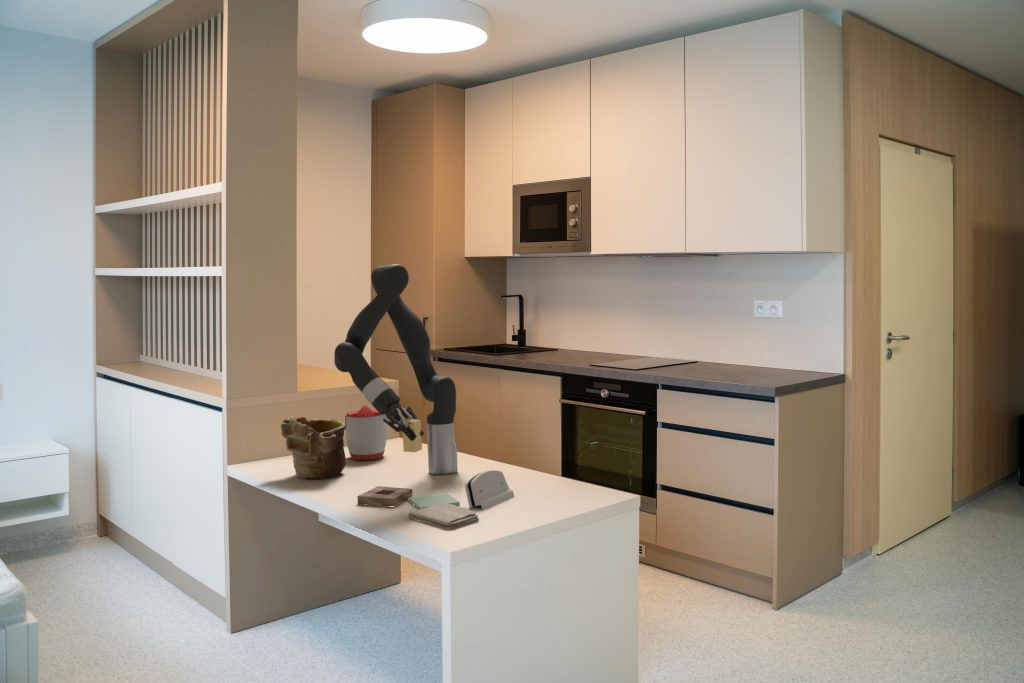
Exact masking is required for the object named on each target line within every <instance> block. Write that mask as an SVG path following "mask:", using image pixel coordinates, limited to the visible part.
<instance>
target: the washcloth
mask: <svg viewBox="0 0 1024 683" xmlns="http://www.w3.org/2000/svg"><path fill="white" fill-rule="evenodd" d="M476 513H477V511H472V510H470V509H468V508H467V507H466V506H463V507H462V506H459V505H457V506H455V505H452V504H446V503H437V504H434V505H431V506H429V507H427V508H422V509H418V508H417V509H416V510H413V511H410V512H409V513H408V519H410V518H412V519H411V520H413V519H416V520H415V521H417V520H419V521H418V522H421V521H422V522H421V523H423V522H426V523H425V524H427V523H429V524H428V525H431V524H432V526H434V525H436V527H438V526H439V528H441V527H442V529H445V530H448V531H450V530H451V529H457V528H460V527H463V526H465V525H469V524H472V523H475V522H478V521H479V520H480V517H479V515H478V514H476Z"/></svg>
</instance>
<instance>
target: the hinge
mask: <svg viewBox="0 0 1024 683" xmlns="http://www.w3.org/2000/svg"><path fill="white" fill-rule="evenodd" d="M464 488H465V493H466V498H467V503H468V507H469V508H470V509H471V508H474V507H478V506H480V507H481V510H486V509H488V508H492V507H493V506H496V505H497V504H498V505H499V504H500V503H503V502H505V501H507V500H510V499H512V498H515V494H514V490H512V489H511V488H509V485H508V483H507V480H506V478H505V475H504V473H503V472H502V471H501V470H487V471H482V472H479V473H477V474H476V475H474V476H472V477H471V478H470V479H468V480H467V481H466V483H465V484H464Z"/></svg>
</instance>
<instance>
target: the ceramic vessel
mask: <svg viewBox="0 0 1024 683" xmlns="http://www.w3.org/2000/svg"><path fill="white" fill-rule="evenodd" d="M345 428H346V424H345V423H344V422H343V421H339V420H338V419H334V418H329V419H328V418H325V419H322V418H321V419H316V420H315V419H310V420H308V419H307V418H306V417H304V416H302V417H295V415H294V416H293V415H292V416H291V417H290V418H288V419H283V420H282V421H281V423H280V430H281V436H282V437H283V438H284V439H286V440H285V441H286V442H285V445H286V450H287V451H289V452H292V462H293V468H294V470H295V471H294V472H295V474H296V475H297V477H298V478H300V479H307V478H310V479H309V480H312V479H313V480H314V479H316V480H321V479H322V478H326V479H329V478H333V477H335V476H337V475H340V474H341V473H342V472H343V471H344V469H345V467H346V464H347V460H346V453H345V448H344V447H345V446H344V445H345V443H344V440H345V439H344V436H345V432H346V429H345ZM322 480H323V479H322Z"/></svg>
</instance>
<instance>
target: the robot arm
mask: <svg viewBox="0 0 1024 683" xmlns="http://www.w3.org/2000/svg"><path fill="white" fill-rule="evenodd" d="M370 280H371V283H372V284H371V285H372V287H373V289H374V291H375V293H376V295H375V297H374V298H372V300H371V301H370V302H368V304H367V305H366V306H364V308H363V309H362V310H361V311H360V312H359V313H358V314H357V315H356V317H355V318H354V320H353V322H352V324H351V325H350V327H349V329H348V331H347V333H346V337H345V340H344V342H341V343H338V345H337V346H336V347H335V349H334V355H333V356H334V362H333V363H334V366H335V367H336V370H338V371H340V372H342V373H348V374H349V375H350V377H351V381H352V382H353V384H354V385H355V387H356V388H358V390H359V391H360V392H361V393H362V394H363V396H364V397H365V399H366V400H367V401H368V403H370V404H371V406H372V407H373V408H374V410H377V411H378V412H379V413H380V414H381V415H386V416H385V418H384V419H383V421H384V422H385V423H386V425H388V426H389V427H390V428H391V429H393V430H394V431H395V432H396V433H399V432H400V433H402V434H403V433H404V434H405V435H406V436H407V437H408V438H409V439H410V440H411V441H413V440H414V439H415V438H416V437H417V435H416V434H415V433H414V432H413V431H412V430H411V429H410V428H409V427H408V425H407V424H406V423H405V420H408V419H416V420H419V419H418V417H417V416H416V414H415V412H414V411H413V409H412V407H411V406H407V408H406V407H404V406H403V405H402V404H400V401H401V398H400V397H399V395H398V394H397V393H396V392H395V390H393V389H392V388H391V386H390V385H389V384H388V383H387V382H386V381H385V380H383V379H382V378H381V377H380V376H379V375H378V374H377V372H376V371H375V370H374V369H373V368H372V367H371V366H370V364H369V363H368V361H367V360H366V358H365V357H364V355H363V353H364V351H365V348H366V346H367V344H368V342H369V341H370V339H371V337H372V336H373V335H374V332H375V330H376V329H377V327H378V326H379V323H380V322H381V321H382V319H383V317H384V316H385V315H386V313H387V315H388V316H389V318H390V320H391V323H392V325H393V327H394V329H395V330H396V331H395V332H396V334H397V337H398V338H399V341H400V343H401V345H402V347H403V349H404V352H405V354H406V355H407V357H408V360H409V362H410V365H411V367H412V369H413V371H414V374H415V375H414V376H415V378H416V381H417V385H418V387H419V390H420V393H421V395H422V396H423V398H424V399H425V400H426V401H427V402H431V403H433V410H432V412H430V413H428V414H427V415H426V432H427V433H426V434H427V456H428V458H427V460H428V461H427V462H428V464H427V465H428V473H429V474H430V473H432V474H431V475H435V474H444V475H450V474H449V473H451V474H454V473H457V472H456V471H458V446H457V445H458V444H456V443H455V441H456V440H455V415H456V412H457V411H456V410H457V388H456V384H455V381H454V380H453V379H452V378H451V377H449V376H444V375H438V374H437V372H436V370H435V368H434V366H433V364H432V360H431V340H430V336H429V334H428V331H427V329H426V326H425V325H424V322H423V321H422V320H421V318H419V316H418V315H417V314H416V313H415V312H414V311H413V310H412V309H411V308H410V307H409V306H408V305H407V304H406V303H405V302H404V300H403V299H402V298H401V296H400V295H402V293H403V292H404V291H405V290H406V287H407V286H408V284H409V282H410V281H409V280H410V277H409V272H408V271H407V268H406V267H405V266H404V265H402V264H399V263H396V264H395V263H393V264H386V265H380V266H376V267H375V268H373V270H372V271H371V275H370ZM424 435H425V431H423V430H422V429H421V437H423V436H424ZM453 472H454V473H453ZM458 472H459V471H458Z"/></svg>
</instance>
